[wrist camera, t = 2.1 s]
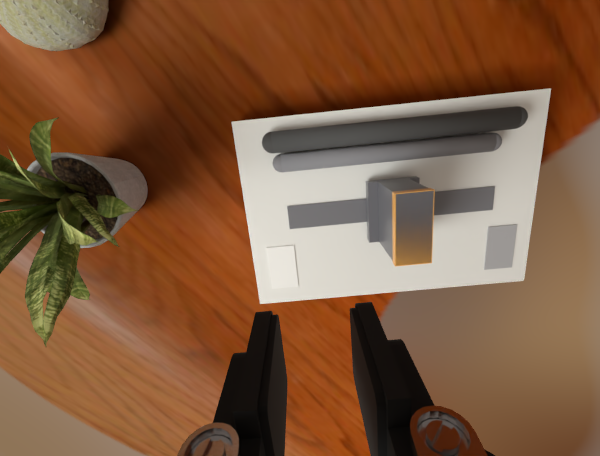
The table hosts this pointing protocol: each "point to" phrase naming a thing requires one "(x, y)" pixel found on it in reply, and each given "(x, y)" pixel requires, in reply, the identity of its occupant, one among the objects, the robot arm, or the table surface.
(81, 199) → the house plant
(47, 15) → the sea urchin shell
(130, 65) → the table surface
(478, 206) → the base
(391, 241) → the handle
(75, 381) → the table surface
